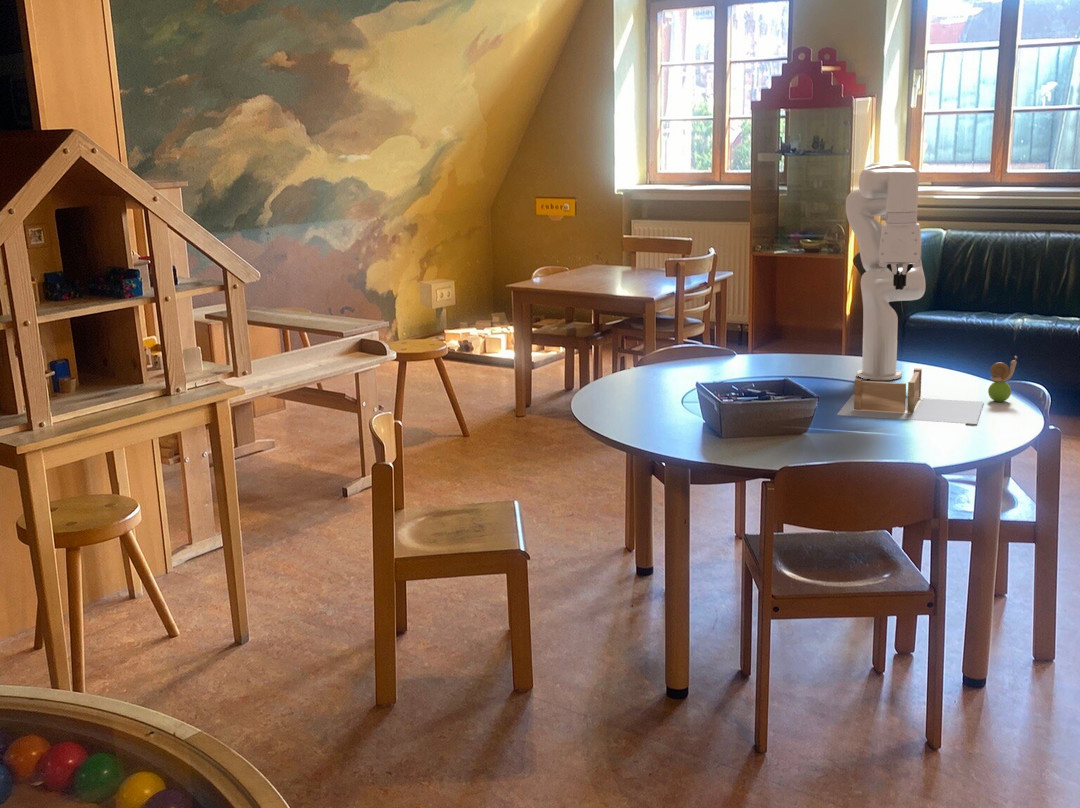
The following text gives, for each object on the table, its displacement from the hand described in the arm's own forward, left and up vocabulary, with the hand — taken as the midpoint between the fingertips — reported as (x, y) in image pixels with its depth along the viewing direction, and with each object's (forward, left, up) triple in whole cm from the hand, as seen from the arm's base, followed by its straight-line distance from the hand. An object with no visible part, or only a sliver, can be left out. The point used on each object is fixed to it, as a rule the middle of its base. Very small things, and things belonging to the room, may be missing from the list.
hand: (899, 288), depth 271 cm
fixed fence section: (+18, -2, -29) cm, 34 cm away
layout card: (+14, +6, -29) cm, 33 cm away
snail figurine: (0, +26, -29) cm, 39 cm away
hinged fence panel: (+10, +6, -28) cm, 31 cm away
